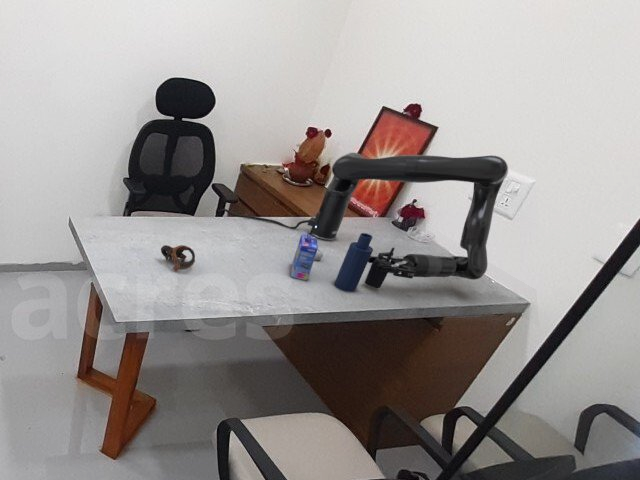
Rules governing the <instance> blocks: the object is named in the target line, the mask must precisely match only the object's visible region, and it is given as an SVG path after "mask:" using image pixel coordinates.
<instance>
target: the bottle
mask: <svg viewBox="0 0 640 480" xmlns="http://www.w3.org/2000/svg"><path fill="white" fill-rule="evenodd" d="M373 238H374V237H373V235H371V234H369V233H366V232H361V233H360V234H359V237H358V239H357V241H353V242H350V244H349V246H348V249H347V252H346V254H345V256H344V258H343V261H342V263H341V265H340V268H339V271H338V273H337V275H336V278H335V280H334V286H335V287H336V288H337V289H338V290H340V291H343V292H346V293H354V292H355V291H356V290H357V287H358V285H359V283H360V281H361V279H362V276H363V274H364V271H365V269H366V268H367V265H368V264H369V262H368V261H369V258H370V256H372V254H373V252H374V248H373V247H372V246H371V245H370V244H371V243H372V240H373Z"/></svg>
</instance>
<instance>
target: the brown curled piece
mask: <svg viewBox="0 0 640 480" xmlns="http://www.w3.org/2000/svg"><path fill="white" fill-rule="evenodd" d="M185 251H188V252H189V253H190V254H191V259H190V260H188V261H185V260H186V258H187V255H186V254H184V252H185ZM160 252H161V255H162V256H163V257H164V258H165V261H168V260H171V259H172V262H173V263H174V265H173V267H172V270H174V271H175V272H178V271H182V270H187V269H190V268H191V267H192V266H193V265H194V264H195V262H196V253H195V251H194V250H193V249H192V248H191V247H190V246H187V245H183V244H179V245H177V246H175V247H172V246H170V245H167V244H166V245H165V244H164V245H162V247H160ZM179 259H180V260H181V261H180V262H179Z"/></svg>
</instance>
